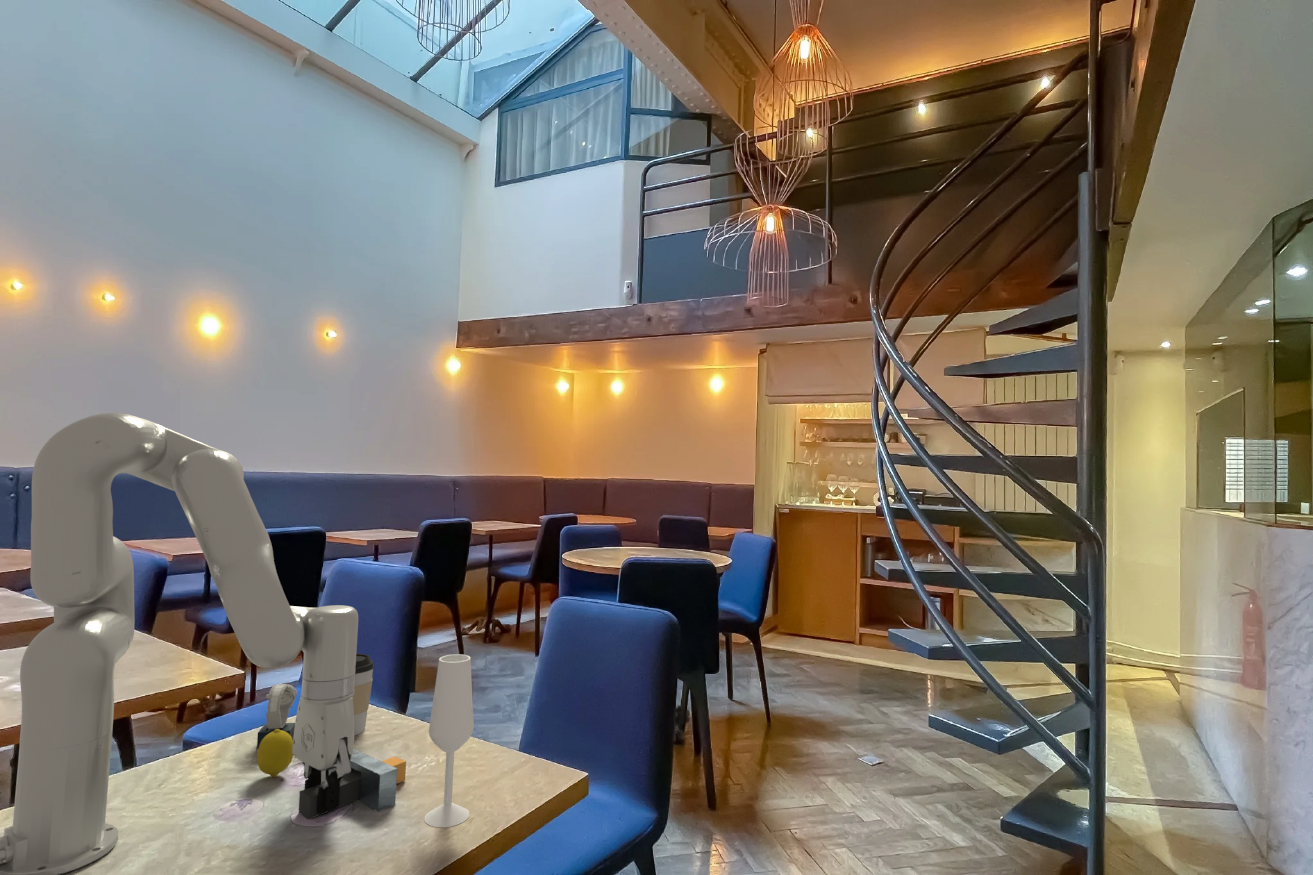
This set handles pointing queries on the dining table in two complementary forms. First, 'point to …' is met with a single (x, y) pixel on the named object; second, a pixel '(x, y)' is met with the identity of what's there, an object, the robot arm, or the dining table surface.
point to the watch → (278, 711)
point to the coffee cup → (362, 691)
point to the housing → (374, 780)
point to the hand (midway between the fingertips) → (321, 805)
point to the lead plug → (344, 789)
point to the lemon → (275, 752)
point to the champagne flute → (451, 728)
